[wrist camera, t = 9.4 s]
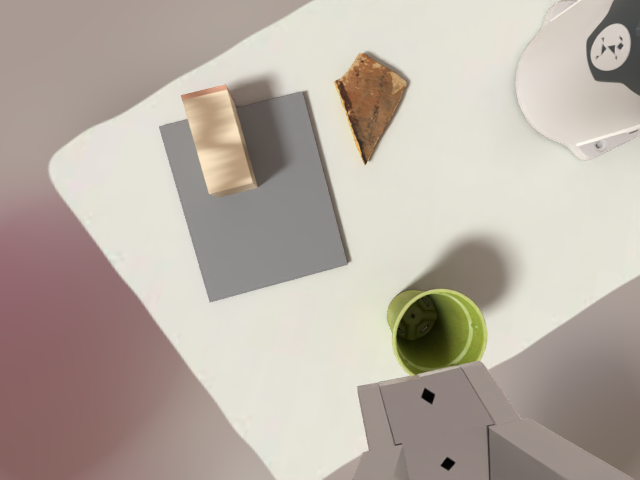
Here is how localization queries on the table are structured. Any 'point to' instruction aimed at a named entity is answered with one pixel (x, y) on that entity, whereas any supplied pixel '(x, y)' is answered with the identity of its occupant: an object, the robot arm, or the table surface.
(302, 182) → the rubber mat
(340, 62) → the table surface
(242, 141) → the birch block
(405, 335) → the plant pot
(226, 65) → the table surface
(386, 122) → the shard
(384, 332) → the table surface
